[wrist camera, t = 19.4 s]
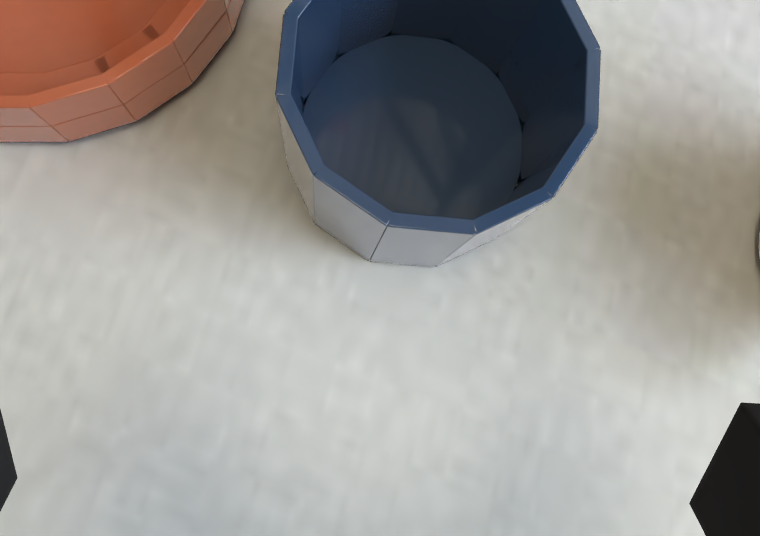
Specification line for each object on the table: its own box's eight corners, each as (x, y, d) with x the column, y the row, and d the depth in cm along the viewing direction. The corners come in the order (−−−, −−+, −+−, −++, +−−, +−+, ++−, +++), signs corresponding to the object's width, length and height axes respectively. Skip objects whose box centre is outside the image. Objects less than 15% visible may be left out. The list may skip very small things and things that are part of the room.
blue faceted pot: (240, 172, 30) (211, 105, 22) (379, -13, 31) (399, -139, 23) (443, 313, 30) (488, 296, 22) (572, 120, 31) (657, 39, 23)
